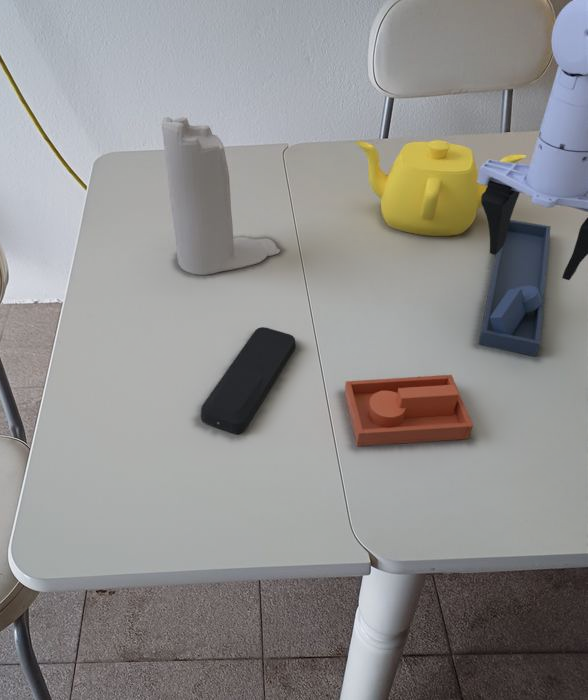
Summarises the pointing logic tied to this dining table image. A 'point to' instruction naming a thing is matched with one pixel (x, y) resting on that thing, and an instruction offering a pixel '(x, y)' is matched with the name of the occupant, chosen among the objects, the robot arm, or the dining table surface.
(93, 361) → the dining table surface
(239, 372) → the remote control
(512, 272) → the slate tray
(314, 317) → the dining table surface
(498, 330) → the slate spoon
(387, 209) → the teapot
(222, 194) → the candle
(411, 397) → the terracotta spoon
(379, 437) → the terracotta tray
